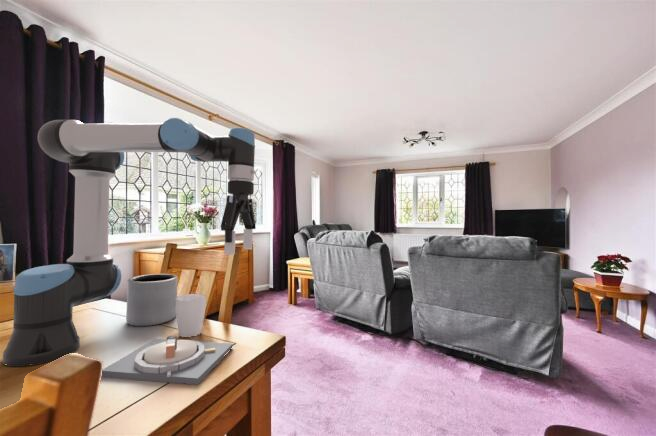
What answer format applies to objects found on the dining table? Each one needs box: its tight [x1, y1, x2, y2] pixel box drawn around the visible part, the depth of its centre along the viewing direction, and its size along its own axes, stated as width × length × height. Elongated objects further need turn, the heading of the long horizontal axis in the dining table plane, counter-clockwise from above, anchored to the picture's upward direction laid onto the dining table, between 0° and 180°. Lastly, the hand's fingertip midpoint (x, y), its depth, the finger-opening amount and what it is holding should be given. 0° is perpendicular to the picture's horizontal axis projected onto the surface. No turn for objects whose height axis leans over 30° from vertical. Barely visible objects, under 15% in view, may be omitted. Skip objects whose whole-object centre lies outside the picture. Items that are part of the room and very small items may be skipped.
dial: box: [144, 335, 197, 365], centre depth 77 cm, size 12×12×5 cm
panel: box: [101, 338, 234, 386], centre depth 78 cm, size 24×20×3 cm
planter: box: [125, 273, 178, 327], centre depth 109 cm, size 16×16×16 cm
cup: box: [175, 293, 207, 338], centre depth 97 cm, size 9×9×12 cm
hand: (239, 251), depth 90 cm, fingers open, 13 cm apart
